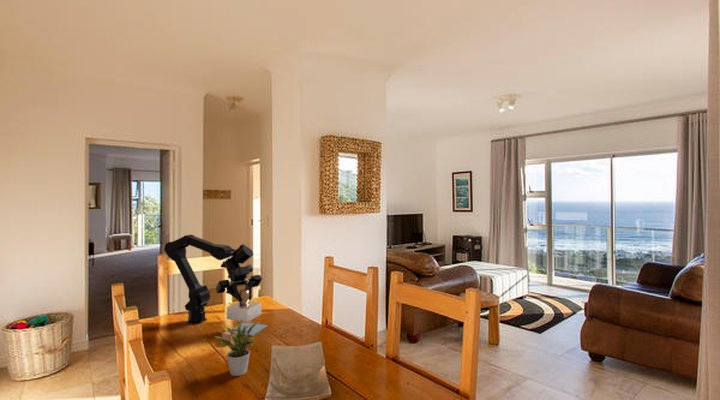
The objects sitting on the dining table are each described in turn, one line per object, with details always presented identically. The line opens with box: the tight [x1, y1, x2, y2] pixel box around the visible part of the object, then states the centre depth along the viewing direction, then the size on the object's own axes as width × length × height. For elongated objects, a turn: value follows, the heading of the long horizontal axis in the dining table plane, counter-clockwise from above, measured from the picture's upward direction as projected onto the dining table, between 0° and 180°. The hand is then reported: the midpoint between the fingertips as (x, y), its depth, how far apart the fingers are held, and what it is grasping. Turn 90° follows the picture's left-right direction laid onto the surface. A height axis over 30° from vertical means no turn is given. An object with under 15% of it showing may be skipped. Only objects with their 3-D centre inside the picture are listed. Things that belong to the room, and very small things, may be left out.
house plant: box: [214, 320, 260, 377], centre depth 123 cm, size 14×14×16 cm
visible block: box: [221, 330, 238, 345], centre depth 147 cm, size 4×4×4 cm
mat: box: [230, 322, 269, 337], centre depth 161 cm, size 12×12×1 cm
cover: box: [226, 288, 262, 323], centre depth 158 cm, size 10×10×11 cm
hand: (245, 300), depth 157 cm, fingers closed on cover, 4 cm apart
